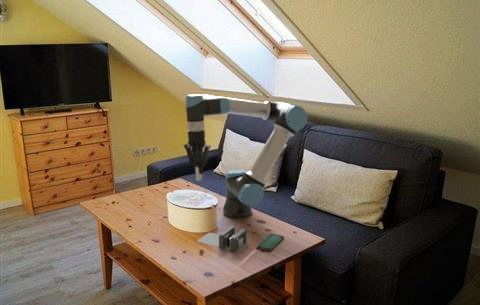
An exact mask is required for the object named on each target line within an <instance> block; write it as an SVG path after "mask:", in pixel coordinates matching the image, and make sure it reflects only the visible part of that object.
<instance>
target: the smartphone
mask: <svg viewBox="0 0 480 305" xmlns="http://www.w3.org/2000/svg"><path fill="white" fill-rule="evenodd" d="M284 238H285V237H284V236H283V235H280V234H276V233H270V234H268V235H267V236H266V237H265V239H264V240H263V241H261V242H260V244H258V245H257V247H255V249H256V250H260V251H263V252H266V253H271V252H272V251H273V250H274V249H275V248H276V247H277V246H278V245H279V244H281V243H282V241H283V240H284Z"/></svg>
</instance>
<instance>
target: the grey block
mask: <svg viewBox="0 0 480 305" xmlns="http://www.w3.org/2000/svg"><path fill="white" fill-rule="evenodd" d="M232 236H234V235H233V234H230V233H229V234H228V235H226V236H225V246H229V247H231V237H232ZM242 246H243V237H240V238H239V239H237V249H239V248H241V247H242Z"/></svg>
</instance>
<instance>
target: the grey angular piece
mask: <svg viewBox="0 0 480 305" xmlns="http://www.w3.org/2000/svg"><path fill="white" fill-rule="evenodd" d="M229 233H230V234H233V235H234V236H232V237H231V247H229V246H225V236H226V235H228V234H229ZM247 233H248V232H247V229H246V228H241V229H240V230H239V231H237V232H236V226H234V225H230V226H229V227H227V228H226V229H224V230H223V231H222V232H220V233H219V234H217V233H214V232H213V233H212V232H207V233H206V234H205V235H203V236H202V237H200V238H199V239H197V241H196V243H197V242H198V243H201V244H205V245H208V246H212V247H215V248H219V249H223V250H226V251H228V252H229V251H230V252H234V253H236V254H237V253H238V254H240V253H242V252H243V251H244V250H245V249H246V248H247V247H248V246H249V245H251V242H248V240H247V239H248V238H247ZM240 237H243V246H242V247H241V248H239V249H237V239H239V238H240Z"/></svg>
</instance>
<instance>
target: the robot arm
mask: <svg viewBox="0 0 480 305" xmlns="http://www.w3.org/2000/svg"><path fill="white" fill-rule="evenodd" d="M185 110H186V111H185V112H186V125H187V138H188V140H187V141H188V142H187V143H186V144H183V147H184V149H185V150H186V154H187V159H188V163H189V165H191V166H192V167H193V169H194V174H195V181H197V182H200V181H202V180H203V173H204V167H205V166H207V164H208V159H209V158H208V157H209V151H210V149H211V147H212V146H211V145H210V144H209V145H208V144H207V142H206V139H205V138H206V133H205V131H206V130H205V117H206V116H217V115H224V114H226V115H227V114H232V115H239V116H246V117H247V116H248V117H254V118H260V119H261V118H262V120H264V121H270V122H272V123H273V130H272V131H271V133H270V135H269V137H268V139H267V140H266V142H265V143H264V146H263V147H262V149H261V150H260V152H259V155H258V156H257V157H256V159H255V161H254V163H253V165H252V166H251V168H250V170H247V169H243V168H242V169H231V170H228V171H226V173H225V200H224V204H223V208H222V212H223V215H224V216H226V217H229V218H232V219H241V218H246V217H248V216H251V215H252V212H253V209H252V206H256V205H258V204H259V203H260V202H261V201H262V200H263V198H264V196H265V192H264V188H265V186H266V185H267V183H266V178H267V177H268V175H269V174H270V171H271V170H272V169H273V167H274V165H275V163H276V161H277V160H278V158H279V156H280V155H281V153H282V151H283V150H284V148H285V146H286V144H287V142H289V139H290V138H292V137H295V135H296V133H297V132H298V131H300V130H303V129H304V128H305V126H306V125H307V122H308V115H307V110H305V109H304V107H302V106H300V105H298V104H295V103H289V102H286V101H268V100H265V101H264V102H262V101H254V100H249V99H248V100H247V99H241V98H234V97H225V96H220V95H219V96H217V95H212V94H208V93H204V94H188V95H186V97H185Z"/></svg>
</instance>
